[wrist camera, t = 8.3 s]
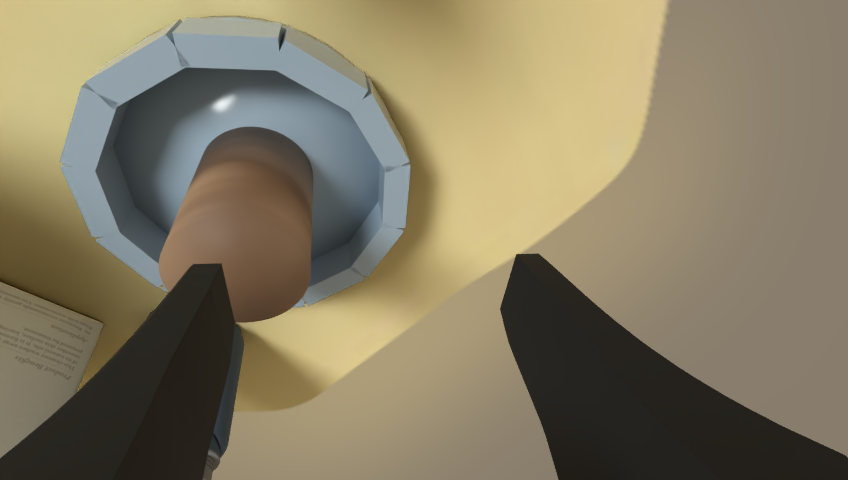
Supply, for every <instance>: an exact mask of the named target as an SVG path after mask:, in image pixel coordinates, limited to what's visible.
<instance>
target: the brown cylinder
mask: <svg viewBox="0 0 848 480" xmlns="http://www.w3.org/2000/svg"><path fill="white" fill-rule="evenodd" d="M312 206H313V170H312V167H311V164H310V161H309V159H308V158H307V156H306V154H305V153H304V152H303V150H302V149H301V148H300V147H299V146H298V145H297V144H296V143H295V142H294V141H292V140H291V139H290V138H288V137H286V136H285V135H283V134H281V133H278V132H276V131H273V130H270V129H266V128H262V127H239V128H235V129H231V130H228V131H226V132H224V133H222V134H220V135H219V136H217V137H216V138H215V139H213V140H212V141H211V142H210V143H209V145H208V146H207V148H206V149H205V151H204V153H203V155H202V158H201V160H200V162H199V165H198V167H197V169H196V172H195V174H194V176H193V179H192V181H191V183H190V186H189V188H188V190H187V193H186V195H185V198H184V200H183V202H182V205H181V207H180V209H179V212H178V214H177V216H176V219H175V221H174V223H173V226H172V228H171V230H170V233H169V235H168V237H167V240H166V242H165V244H164V247H163V249H162V252H161V254H160V258H159V273H160V277H161V280H162V282H163V284H164V286H165V287H166V289H167V291H168V292H170V291H171V290H172V288H173V287H174V286H175V285H176V283H177V282H178V281H179V280H180V278H181V277H182V276H183V275H184V273H185V272H186V271H187V270H188V268H189V267H190V266H192V265H193V264H213V263H222V267H223V272H224V276H225V281H226V285H227V289H228V294H229V298H230V303H231V307H232V311H233V316H234V320H235V322H255V321H261V320H265V319H269V318H272V317H275V316H278V315H280V314H282V313H284V312H286V311H287V310H289V309H291V308H292V307H293V306H294V305H296V304H297V303H298V302H299V301H300V300H301V298H302V297H303V296H304V294H305V293H306V291H307V288H308V286H309V282H310V267H311V237H312Z"/></svg>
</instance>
